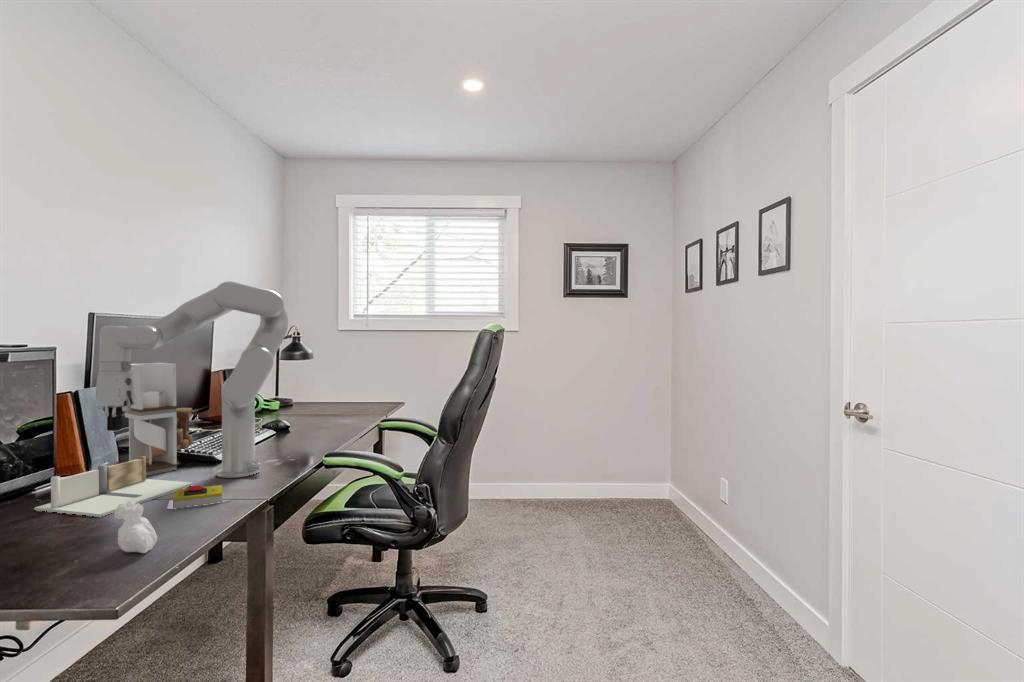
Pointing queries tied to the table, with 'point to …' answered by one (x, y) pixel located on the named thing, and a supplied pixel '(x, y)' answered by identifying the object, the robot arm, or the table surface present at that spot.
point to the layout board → (118, 498)
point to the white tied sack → (134, 529)
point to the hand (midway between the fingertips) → (114, 429)
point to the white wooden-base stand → (154, 417)
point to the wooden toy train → (183, 428)
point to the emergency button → (197, 496)
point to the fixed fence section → (78, 486)
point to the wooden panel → (126, 473)
